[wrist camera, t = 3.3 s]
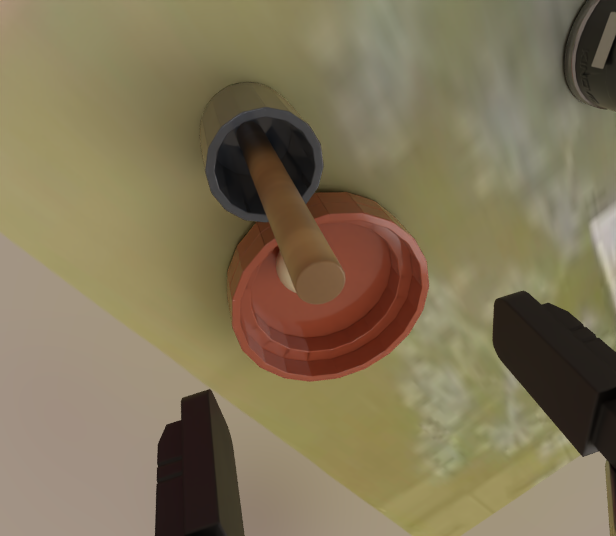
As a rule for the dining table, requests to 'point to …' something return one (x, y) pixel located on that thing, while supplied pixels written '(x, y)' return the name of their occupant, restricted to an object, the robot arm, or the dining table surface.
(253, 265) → the bowl
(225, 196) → the tube
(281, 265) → the dough ball
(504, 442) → the dining table surface
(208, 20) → the dining table surface
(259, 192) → the stick
